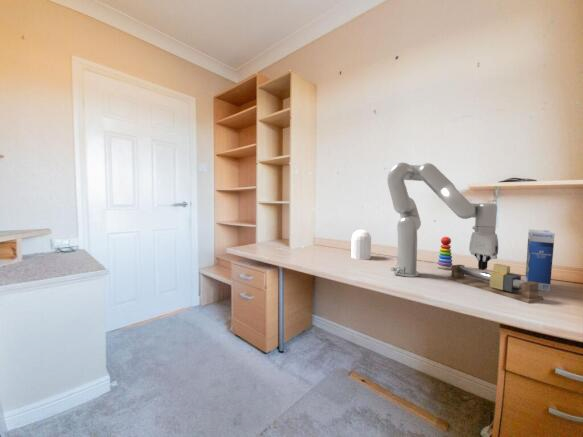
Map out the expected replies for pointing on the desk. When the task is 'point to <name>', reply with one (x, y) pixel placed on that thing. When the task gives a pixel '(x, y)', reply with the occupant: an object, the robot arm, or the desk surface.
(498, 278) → the sleeve
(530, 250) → the string lights box
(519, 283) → the pipe
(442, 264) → the stacking toy
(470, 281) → the stand
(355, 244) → the container
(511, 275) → the grey square collar
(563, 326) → the desk surface
